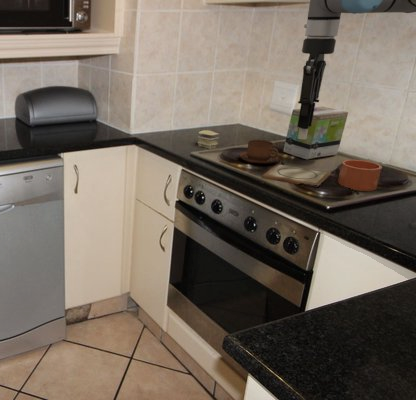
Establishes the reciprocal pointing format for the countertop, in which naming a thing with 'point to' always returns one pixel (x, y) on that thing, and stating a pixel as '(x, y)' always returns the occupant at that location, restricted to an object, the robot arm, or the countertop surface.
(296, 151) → the tea box
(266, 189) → the countertop surface
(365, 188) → the pen cup
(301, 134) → the marker
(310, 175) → the tan flat square slab
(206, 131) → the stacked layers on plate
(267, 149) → the cup and saucer
